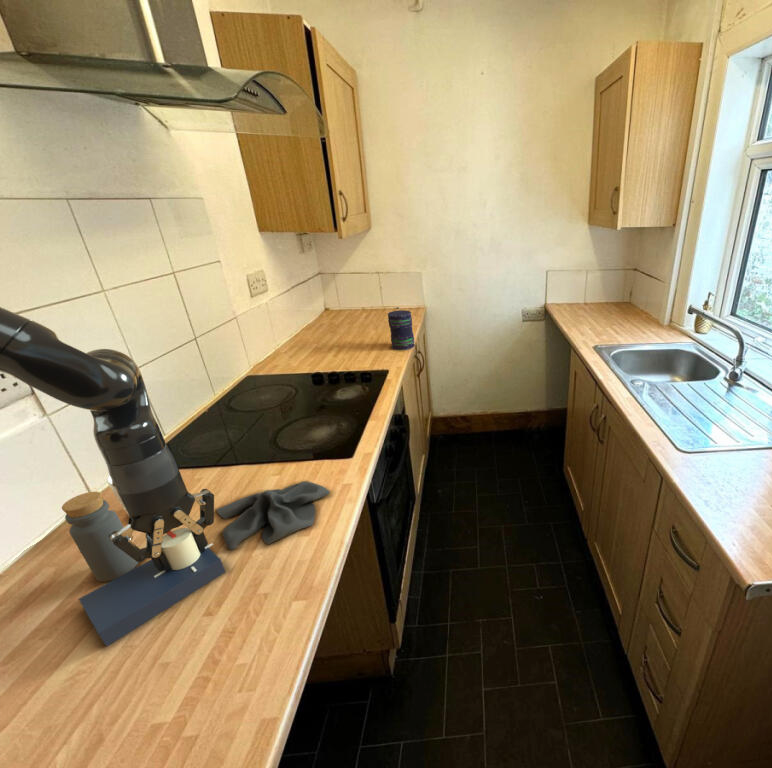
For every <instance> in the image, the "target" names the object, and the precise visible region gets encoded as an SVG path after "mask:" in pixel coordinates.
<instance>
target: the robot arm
mask: <svg viewBox="0 0 772 768" xmlns="http://www.w3.org/2000/svg"><path fill="white" fill-rule="evenodd" d="M0 373H4V374H7V375H9V376H11V377H13V378H15V379H17V380H19V381H20V382H22V383H24V384H26V385H27V386H29V387H31V388H34V389H36V390H37V391H39V392H42V393H43V394H45V395H47V396H49V397H51V398H53V399H55V400H57V401H60V402H62V403H64V404H67V405H69V406H71V407H76V408H79V409H82V410H88V411H89V412H90V414H91V416H92V419H93V429H92V430H93V431H92V432H93V437H94V440H95V443H96V446H97V448H98V449H99V452H100V454H101V456H102V458H103V461H104V462H105V464H106V467H107V470H108V474H109V475H108V476H110V477H111V479H112V484H113V486H114V487H115V488H116V490H117V492H118V494H119V496H120V498H121V500H122V502H123V504H124V506H125V508H126V510H127V512H128V514H129V516H128V521H127V525H125V526H123V527H124V528H123V529H121V530H120V531H113V532H111V533H110V534H109V536H108V537H109V538H110V540H111V541H112V542H113V544H114V545H116V546H117V547H118V548H119V549H121V550H122V551H123V552H125V553H126V554H127V555H129V556H130V557H131V558H133V559H134V560H135V561H137V562H138V563H142V562H144V561H145V560H148V559H150V560H151V559H152V561H153V563H154V565H155V567H156V568H157V569H158V570H159V571H160V572H161V571H163V570H164V571H165V572H168V571H169V570H171V568H170V566H169V564H168V562H167V560H166V558H165V556H164V554H163V553H162V551H161V546H162V543H163V536H164V535H166V534H167V532H169V531H173V530H174V529H178V528H179V527H181V526H183V525H184V526H185V527H186V528H188V529H190V530H191V532H192V534H193V537H194V539H195V541H196V544H197V546H198V548H199V551H200V552H203V551H205V550H206V549H205V547H206V546H208V545H209V544H208V543H209V542H208V539H207V538H206V535H205V533H204V531H205V529H206V528H207V527H208V526H212V525H214V522H215V494H214V493H213V492H211V490H209V489H208V488H202V489H201V490H200V492H197V493H196V492H195V493H191V492H189V491H188V489H187V485H186V483H185V481H184V479H183V477H182V474H181V471H180V469H179V467H178V465H177V462H176V459H175V456H174V454H173V453H172V452H171V450H170V448H169V447H168V445H167V443H166V440H165V438H164V435H163V433H162V431H161V428H160V427H159V424H158V422H157V421H156V418H155V417H154V414H153V411H152V408H151V407H152V406H151V404H150V403H151V402H150V399H149V396H148V391H147V388H146V384H145V381H144V378H143V375H142V372H141V370H140V367H139V366H138V364H137V363H136V362H135V361H134V359H132V357H130V356H129V355H128V354H125V353H124V352H122V351H118V350H115V349H111V348H110V349H109V348H98V349H93V350H90V351H88V352H84V351H82V350H80V349H79V348H76V347H73V346H72V345H70V344H68V343H66V342H63V341H62V340H60V339H59V337H58V335H57V333H56V332H55V331H54V330H52V329H51V328H49V327H47V326H46V325H44V324H42V323H39V322H37V321H35V320H31V319H30V318H28V317H25V316H22V315H20V314H18V313H16V312H14V311H11V310H9V309H6V308H5V307H1V306H0ZM195 502H196V503H197V504H198V506H199V519H198V520H196V521H195V519H193V518H192V517H191V516H190V514H191V511H192V509H193V506H194V504H195ZM127 512H126V513H127ZM128 514H127V515H128ZM134 531H136V532H139V533H143V534H145V539H146V543H145V544H146V545H145V546H146V547H142V548H140V547H138V546H137V545H136V544H134V543H133V542H132V541H133V539H134V536H133V532H134Z"/></svg>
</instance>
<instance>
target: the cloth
mask: <svg viewBox="0 0 772 768" xmlns="http://www.w3.org/2000/svg"><path fill="white" fill-rule="evenodd" d="M330 493H331V491H330V490H329V489H328V488H327V487H325V486H323V485H320V484H319V483H315V482H312V481H307V480H306V481H305V480H303V481H300V482H299V483H296V484H292V485H289V486H286V487H284V488H283V489H279V488H276V489H268V490H264V491H263V492H258V493H257V492H256V493H253V494H251V495H247V496H245V497H243V498H240V499H238V500H235V501H233V502H231V503H229V504H226V505H224V506H221V507H219V508H217V509H216V512H217V514H218V515H219V516H220V517H221V518H222V519H225V520H227V519H229V518H231V517H232V518H233V517H234V516H237V517H236V519H234V520H233V521H232V522H230V523H229V524H227V525H226V527H225V528H224V529H223V531H222V533H221V535H222V536H223V540H224V543H225V545H226V547H228V548H229V550H230V551H233V550H234V549H236V548H238V546H239V545H240V543H241V542H243V541H245V540H246V539H248V538H249V537H251V536H252V535H254V534H257V533H258V532H259V531H260V530H261V529H262V528H263V531H262V534H261V538H262V540H263V542H264V543H265V544H267V545H271V544H272V543H274V542H277V541H278V540H280V539H283V538H285V537H287V536H289V535H291V534H295V532H298V531H300V530H303V529H305V528H308V527H312V526H313V525H314V522H315V517H316V505H315V504H314V503H313V502H315V501H318V500H320V499H322V498H325V497H327V496H328V495H329V494H330ZM238 515H239V516H238Z"/></svg>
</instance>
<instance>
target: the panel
mask: <svg viewBox="0 0 772 768" xmlns="http://www.w3.org/2000/svg"><path fill="white" fill-rule="evenodd" d="M213 545H214V543H213V542H212V543H210V544H207V546H206V547H205V549H206V550H205V551H203V552H200V557H199V558H198V560H197V561H196V562H194V563H193V564H192V565H190V566H188V567H186V568H183V569H180V570H172V569H171V570H169V571H168V572H165V571H164V570H163V571H161V572H160V571H159V570H158V569H157V568H156V567H155V565H154V563H153V561H152V559H151V558H150V559H149V560H148V561H146V562H144V563H142V564H141V565H137V566H136V567H135V568H134V569H133V570H131V571H129V572H127V573H126V574H124V575H122V576H120V577H118V578H116V579H114V580H111V581H108V582H107V583H105V584H103V585H102V586H100V587H97V588H96V589H94V590H92V591H91V592H88V593H86V594H84V595H82V596H81V597H80V598H78V601H79V602H80V604H81V606H82V608H83V610H84V611H85V613H86V615H87V617H88V619H89V621H90V622H91V624H92V626H93V627H94V629H95V631H96V632H97V634H98V636H99V637H100V640H101V641H102V643H103V644H104V646H105V647H109V646H110V645H112V644H113V643H115V642H117V641H119V640H120V639H121V638H123V637H125V636H126V635H128V634H129V633H131V632H133V631H134V630H136V629H138V628H139V627H141V626H143V625H144V624H146V623H147V622H148V621H150V620H152V619H154V618H155V617H157V616H158V615H159V614H161V613H163V612H165V611H166V610H168V609H169V608H171V607H172V606H174V605H176V604H177V603H179V602H181V601H182V600H184V599H185V598H186V597H188V596H190V595H192V594H193V593H195V592H197V591H198V590H199V589H201V588H203V587H204V586H206V585H207V584H209V583H210V582H212V581H214V580H215V579H217V578H219V577H220V576H221V575H224V574H225V573H226V569H225V567H224V564H223V562H222V560H221V558H220V557H218V555H217V554H216V553H215V552H214V551H213V550H212V549H211V548H210V547H211V546H213Z"/></svg>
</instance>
